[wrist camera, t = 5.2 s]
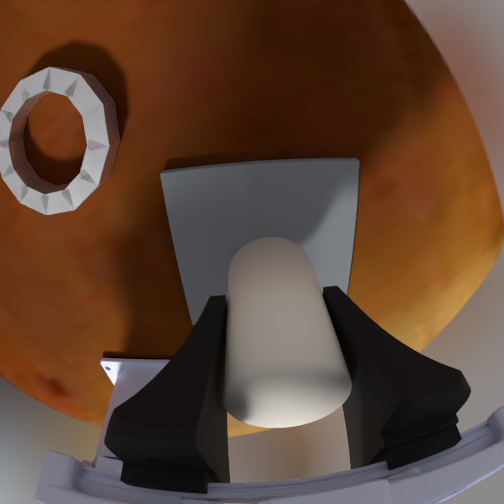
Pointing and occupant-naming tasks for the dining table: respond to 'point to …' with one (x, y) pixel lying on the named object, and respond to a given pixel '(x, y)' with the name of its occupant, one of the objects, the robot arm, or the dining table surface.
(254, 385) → the peg
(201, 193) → the mat
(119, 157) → the dining table surface
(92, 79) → the ring
